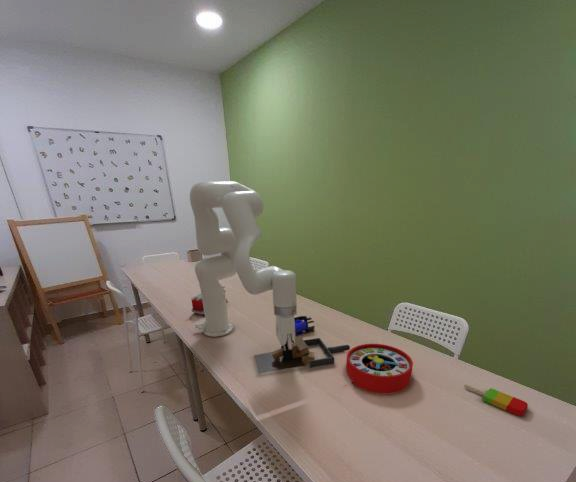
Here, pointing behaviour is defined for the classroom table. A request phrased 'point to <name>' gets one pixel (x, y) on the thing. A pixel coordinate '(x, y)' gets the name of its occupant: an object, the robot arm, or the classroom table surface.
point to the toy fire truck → (199, 304)
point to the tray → (276, 363)
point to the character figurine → (302, 324)
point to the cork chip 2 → (308, 357)
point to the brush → (293, 349)
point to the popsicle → (503, 401)
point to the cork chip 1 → (296, 354)
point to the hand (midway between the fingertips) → (286, 357)
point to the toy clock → (379, 368)
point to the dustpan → (326, 350)
